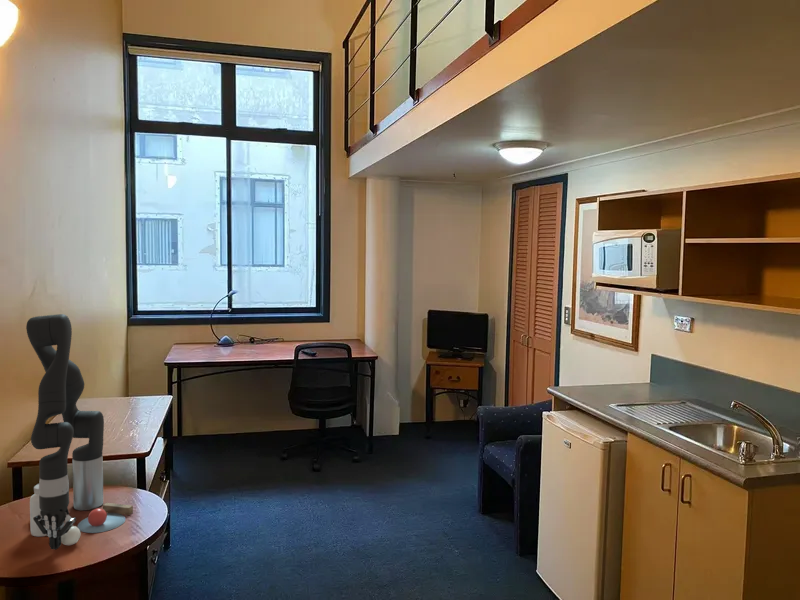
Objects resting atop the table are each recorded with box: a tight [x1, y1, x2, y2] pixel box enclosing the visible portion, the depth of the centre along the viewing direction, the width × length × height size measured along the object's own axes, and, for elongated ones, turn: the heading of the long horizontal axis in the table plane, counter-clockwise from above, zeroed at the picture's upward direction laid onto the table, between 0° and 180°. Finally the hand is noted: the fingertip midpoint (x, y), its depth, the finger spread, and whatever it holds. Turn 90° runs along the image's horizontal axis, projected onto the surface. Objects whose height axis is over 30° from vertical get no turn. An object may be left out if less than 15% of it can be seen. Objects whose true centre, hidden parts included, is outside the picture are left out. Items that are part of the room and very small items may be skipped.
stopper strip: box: [102, 502, 134, 516], centre depth 202 cm, size 10×2×2 cm, turn 79°
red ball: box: [87, 507, 107, 526], centre depth 192 cm, size 6×6×6 cm
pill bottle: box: [29, 483, 48, 537], centre depth 187 cm, size 8×8×15 cm
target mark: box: [77, 513, 126, 534], centre depth 194 cm, size 14×14×1 cm
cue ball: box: [61, 525, 82, 546], centre depth 179 cm, size 6×6×6 cm
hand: (55, 548), depth 174 cm, fingers closed
